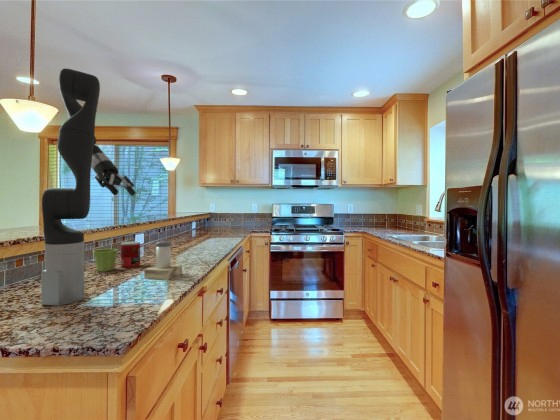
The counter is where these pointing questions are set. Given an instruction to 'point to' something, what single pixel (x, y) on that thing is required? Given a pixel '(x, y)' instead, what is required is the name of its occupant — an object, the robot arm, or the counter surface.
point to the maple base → (162, 272)
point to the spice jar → (163, 254)
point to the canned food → (130, 254)
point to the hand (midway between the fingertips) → (125, 194)
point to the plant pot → (105, 259)
